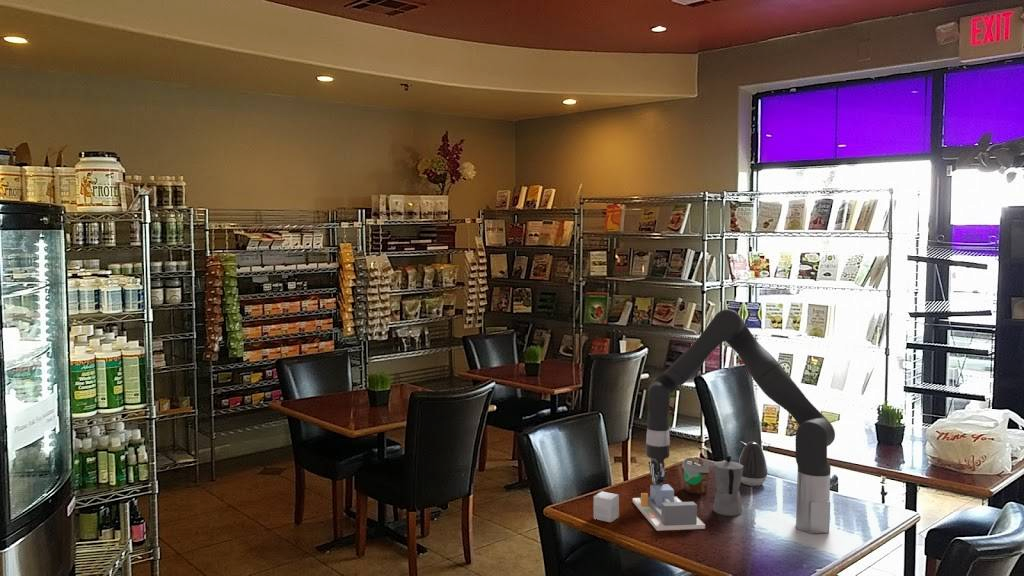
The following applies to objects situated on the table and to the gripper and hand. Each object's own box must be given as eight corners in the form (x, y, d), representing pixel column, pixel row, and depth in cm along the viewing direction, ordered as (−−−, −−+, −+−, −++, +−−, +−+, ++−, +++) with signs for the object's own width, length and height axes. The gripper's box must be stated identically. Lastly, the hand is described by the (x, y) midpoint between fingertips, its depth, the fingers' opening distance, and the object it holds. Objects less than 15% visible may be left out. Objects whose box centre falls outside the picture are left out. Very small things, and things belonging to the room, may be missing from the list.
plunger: (679, 512, 248) (679, 495, 248) (647, 513, 247) (647, 496, 246) (667, 500, 259) (668, 484, 259) (637, 501, 258) (637, 485, 257)
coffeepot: (710, 503, 261) (711, 449, 260) (739, 505, 260) (741, 451, 259) (715, 519, 246) (716, 462, 245) (746, 521, 245) (747, 464, 243)
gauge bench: (705, 528, 238) (705, 505, 238) (656, 530, 237) (657, 507, 236) (676, 500, 264) (676, 478, 264) (632, 501, 262) (633, 480, 262)
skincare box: (619, 517, 248) (619, 494, 247) (610, 523, 243) (610, 499, 242) (601, 513, 251) (602, 490, 251) (592, 519, 246) (593, 495, 246)
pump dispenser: (747, 477, 289) (748, 436, 288) (772, 484, 281) (773, 442, 280) (730, 483, 283) (731, 441, 282) (756, 490, 275) (757, 447, 274)
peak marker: (647, 506, 254) (648, 493, 253) (641, 506, 253) (641, 494, 253) (646, 505, 255) (647, 492, 254) (640, 505, 254) (641, 493, 254)
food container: (674, 486, 279) (675, 458, 278) (690, 484, 281) (690, 456, 280) (692, 497, 267) (693, 468, 267) (708, 495, 269) (709, 466, 269)
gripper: (675, 447, 254) (674, 500, 255) (662, 437, 267) (661, 487, 268) (652, 448, 253) (651, 501, 254) (641, 437, 266) (640, 488, 267)
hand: (656, 494), depth 261 cm, fingers closed
